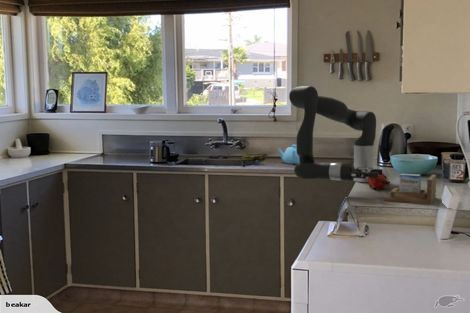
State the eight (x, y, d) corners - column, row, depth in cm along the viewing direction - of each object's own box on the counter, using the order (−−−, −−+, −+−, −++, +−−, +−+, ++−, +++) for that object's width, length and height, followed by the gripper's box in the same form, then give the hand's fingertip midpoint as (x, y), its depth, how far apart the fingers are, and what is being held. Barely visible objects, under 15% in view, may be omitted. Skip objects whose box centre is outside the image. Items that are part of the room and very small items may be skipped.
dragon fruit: (371, 189, 278) (385, 197, 267) (359, 179, 274) (372, 188, 263) (382, 174, 277) (397, 182, 266) (370, 164, 274) (384, 172, 263)
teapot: (313, 163, 357) (313, 144, 356) (293, 165, 349) (293, 146, 347) (295, 160, 370) (295, 142, 368) (276, 162, 361) (276, 144, 360)
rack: (390, 194, 256) (391, 172, 255) (435, 197, 248) (436, 174, 247) (383, 200, 243) (384, 177, 242) (430, 204, 236) (431, 179, 234)
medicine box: (399, 196, 245) (399, 174, 244) (400, 194, 249) (401, 173, 248) (419, 197, 242) (419, 175, 241) (420, 195, 246) (421, 174, 245)
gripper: (337, 165, 250) (376, 166, 243) (346, 160, 262) (384, 162, 256) (336, 183, 251) (376, 185, 244) (346, 177, 263) (383, 179, 257)
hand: (380, 173), depth 250 cm, fingers open, 8 cm apart
